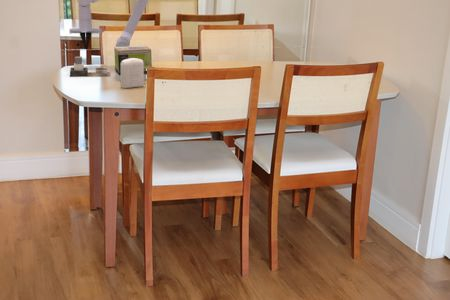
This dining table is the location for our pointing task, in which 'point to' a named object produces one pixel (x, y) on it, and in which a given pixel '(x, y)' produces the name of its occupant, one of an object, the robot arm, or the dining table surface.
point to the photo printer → (132, 73)
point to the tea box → (132, 52)
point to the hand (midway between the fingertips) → (86, 48)
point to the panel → (84, 73)
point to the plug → (78, 64)
